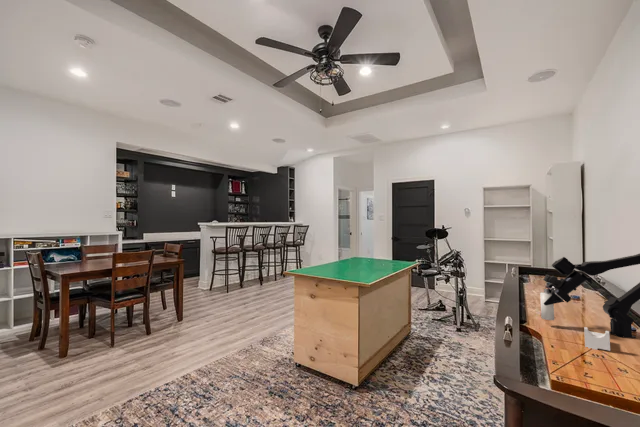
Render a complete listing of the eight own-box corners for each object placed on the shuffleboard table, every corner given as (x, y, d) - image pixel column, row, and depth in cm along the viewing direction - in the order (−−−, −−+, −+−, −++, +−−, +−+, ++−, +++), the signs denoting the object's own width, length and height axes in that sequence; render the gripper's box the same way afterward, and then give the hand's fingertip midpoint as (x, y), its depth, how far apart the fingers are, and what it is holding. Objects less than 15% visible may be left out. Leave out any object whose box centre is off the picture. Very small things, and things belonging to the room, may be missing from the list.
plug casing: (557, 320, 138) (555, 290, 139) (545, 320, 138) (544, 290, 139) (549, 317, 143) (548, 288, 144) (538, 317, 143) (537, 288, 144)
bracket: (610, 353, 110) (609, 332, 111) (585, 348, 115) (584, 328, 116) (609, 343, 120) (608, 324, 120) (585, 339, 125) (584, 321, 125)
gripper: (551, 267, 148) (526, 287, 153) (560, 271, 132) (531, 294, 137) (572, 284, 144) (545, 304, 149) (584, 291, 128) (553, 313, 132)
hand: (543, 303), depth 142 cm, fingers closed on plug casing, 5 cm apart
